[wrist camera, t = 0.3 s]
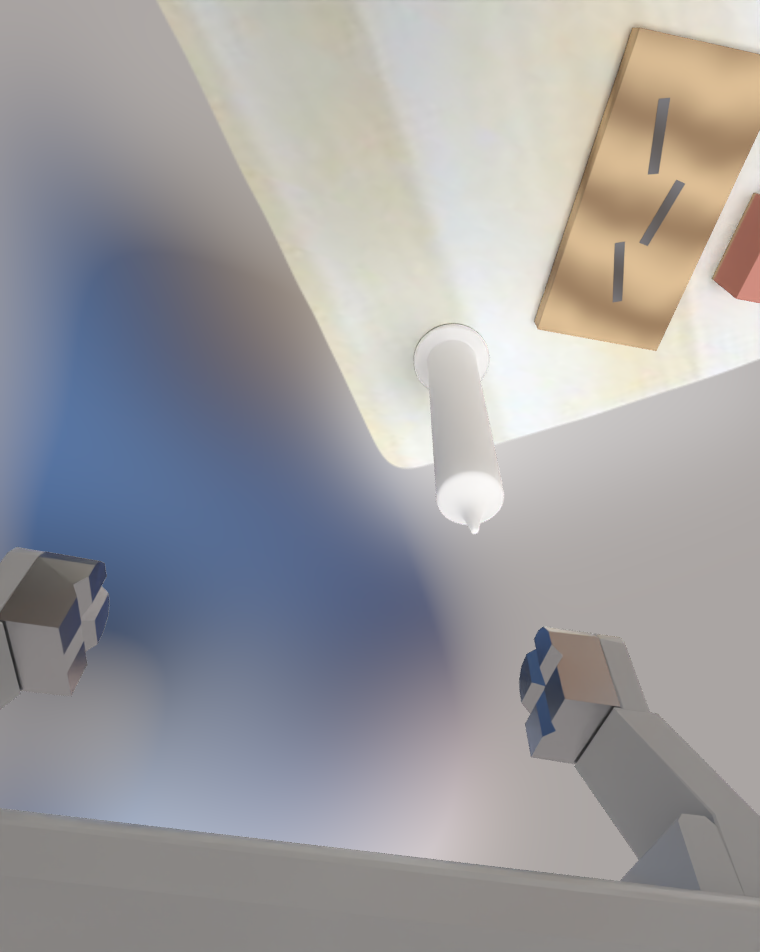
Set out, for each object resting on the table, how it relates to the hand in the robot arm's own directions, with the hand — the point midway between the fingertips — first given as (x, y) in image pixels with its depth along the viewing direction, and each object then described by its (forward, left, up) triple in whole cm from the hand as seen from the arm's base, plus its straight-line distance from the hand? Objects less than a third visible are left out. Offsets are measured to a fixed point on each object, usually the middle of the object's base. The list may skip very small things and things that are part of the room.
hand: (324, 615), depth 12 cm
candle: (+15, +9, -47) cm, 50 cm away
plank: (-1, +21, -47) cm, 51 cm away
